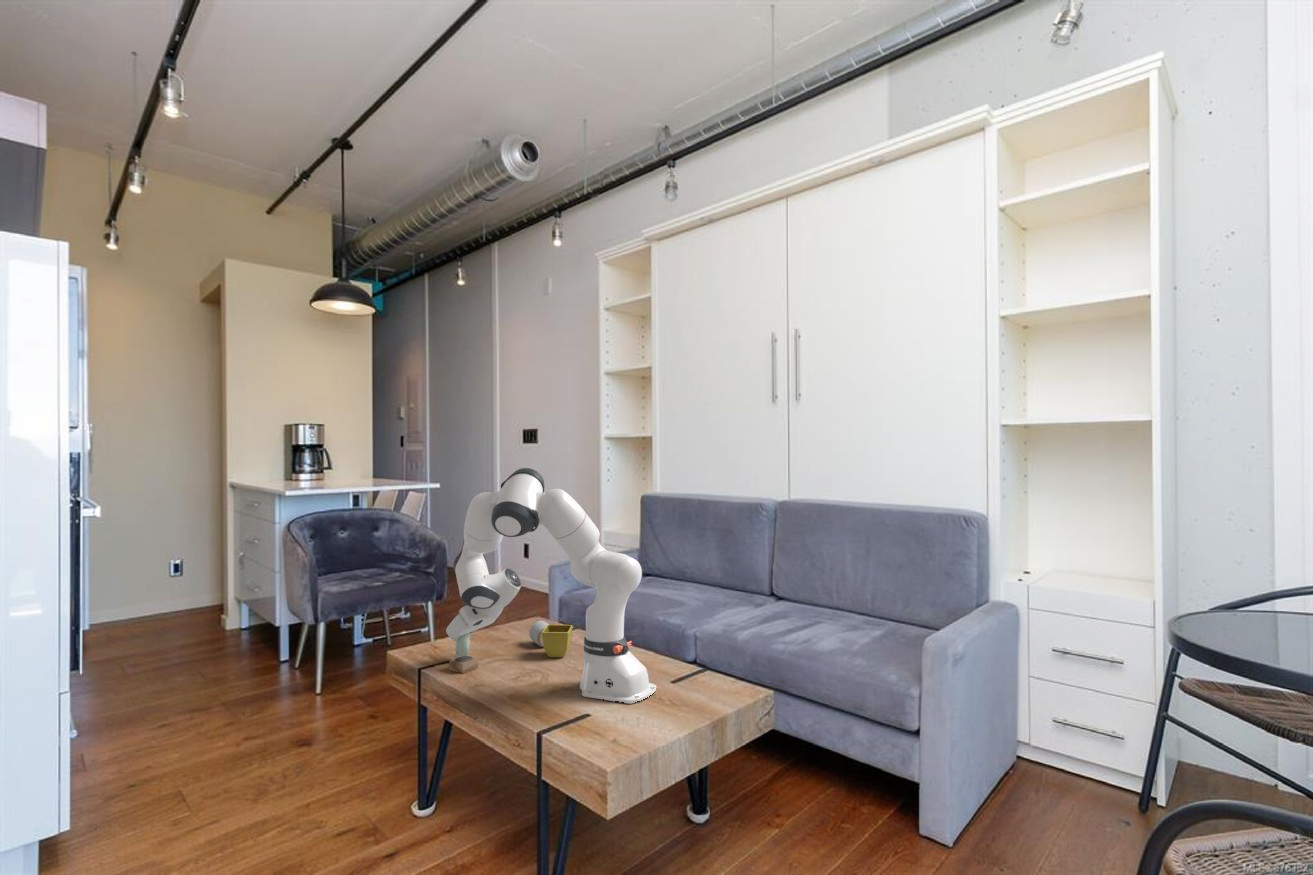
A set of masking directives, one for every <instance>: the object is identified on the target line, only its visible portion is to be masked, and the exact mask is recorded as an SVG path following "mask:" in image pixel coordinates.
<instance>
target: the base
mask: <svg viewBox="0 0 1313 875" xmlns="http://www.w3.org/2000/svg"><path fill="white" fill-rule="evenodd" d="M448 667H449V669H450V670H449V669H448V670H449V671H451V670H453V671H452V672H454V671H457V672H456V673H458V672H460V673H459V674H462V673H463V674H466V673H468V672H467V671H469V672H471V670H472V671H474V670H476V668H477V669H479V658H477V657H473V656H469V655H464V656H457V657H455V658H453V659H450V660H449V666H448ZM473 669H474V670H473ZM465 672H466V673H465Z"/></svg>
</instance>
